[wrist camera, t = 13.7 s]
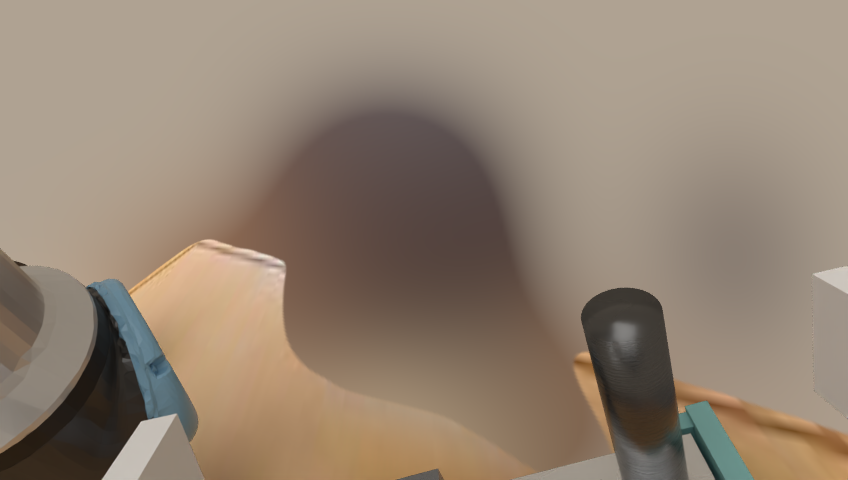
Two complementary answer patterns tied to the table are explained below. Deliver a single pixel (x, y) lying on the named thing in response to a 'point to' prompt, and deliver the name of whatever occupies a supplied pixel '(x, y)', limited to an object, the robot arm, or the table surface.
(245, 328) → the table surface
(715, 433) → the teal bracket
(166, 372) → the robot arm
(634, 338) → the metal plate with post
